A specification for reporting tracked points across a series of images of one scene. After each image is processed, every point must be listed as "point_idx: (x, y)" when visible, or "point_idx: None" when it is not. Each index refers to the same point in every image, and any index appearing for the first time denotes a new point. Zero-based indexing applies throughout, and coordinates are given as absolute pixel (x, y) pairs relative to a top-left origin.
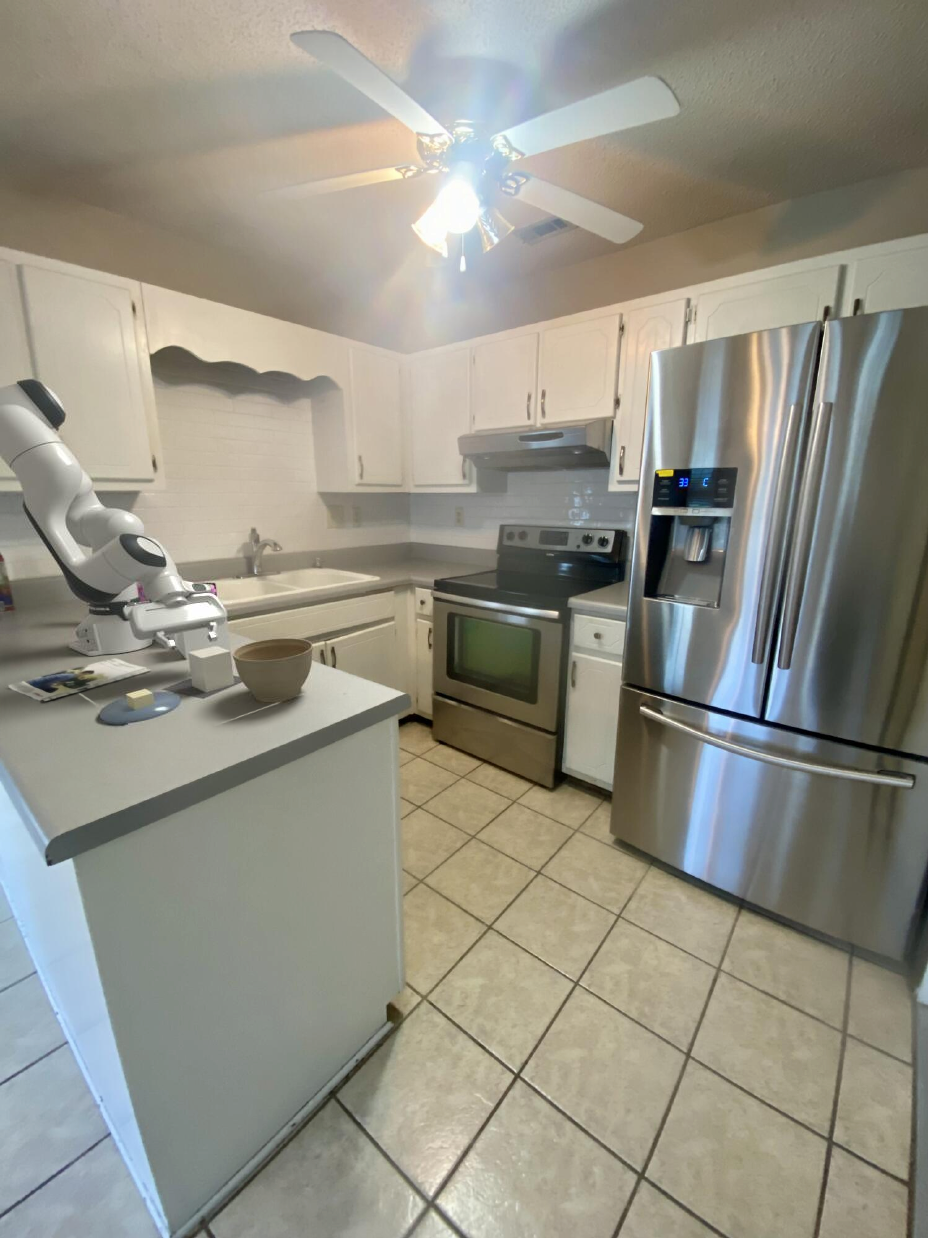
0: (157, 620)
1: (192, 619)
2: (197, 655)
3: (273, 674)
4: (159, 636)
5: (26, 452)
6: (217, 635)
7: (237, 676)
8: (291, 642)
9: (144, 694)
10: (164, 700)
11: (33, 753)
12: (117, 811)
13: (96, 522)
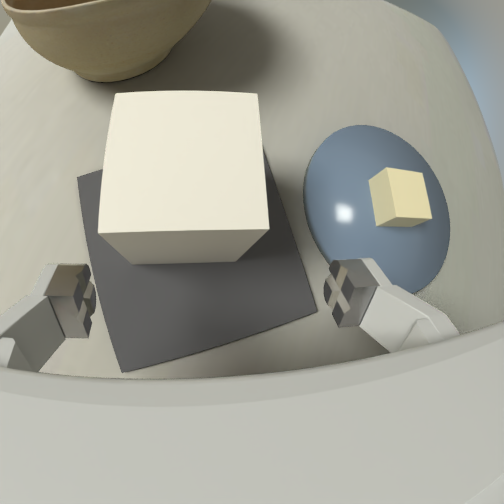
0: (501, 396)
1: (152, 412)
2: (255, 140)
3: None
4: (436, 309)
5: None
6: None
7: (86, 230)
8: (9, 2)
9: (402, 175)
10: (345, 183)
11: (491, 178)
12: (407, 11)
13: None
